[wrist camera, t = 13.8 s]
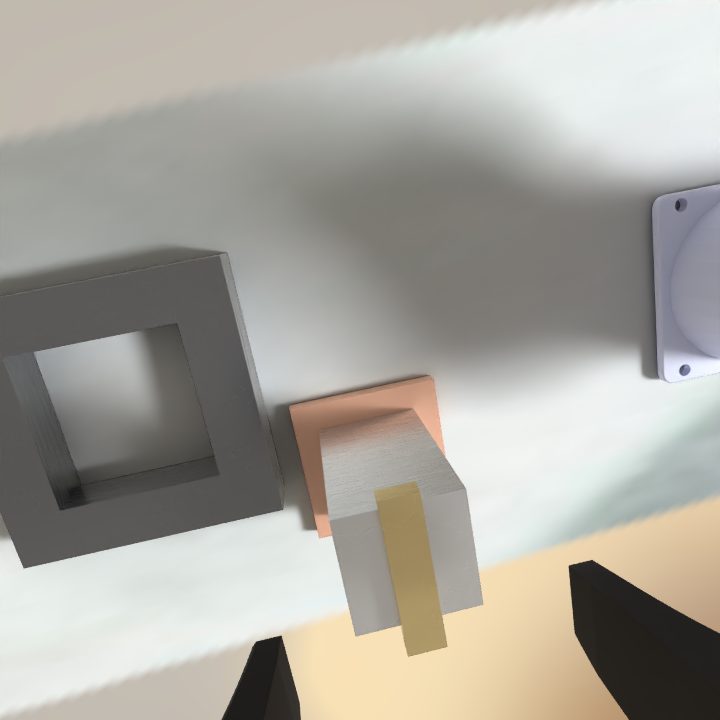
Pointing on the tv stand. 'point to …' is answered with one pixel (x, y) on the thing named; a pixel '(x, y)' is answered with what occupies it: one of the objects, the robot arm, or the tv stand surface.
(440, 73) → the tv stand surface
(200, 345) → the charcoal socket
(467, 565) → the steel key
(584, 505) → the tv stand surface
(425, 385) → the terracotta pad
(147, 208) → the tv stand surface
